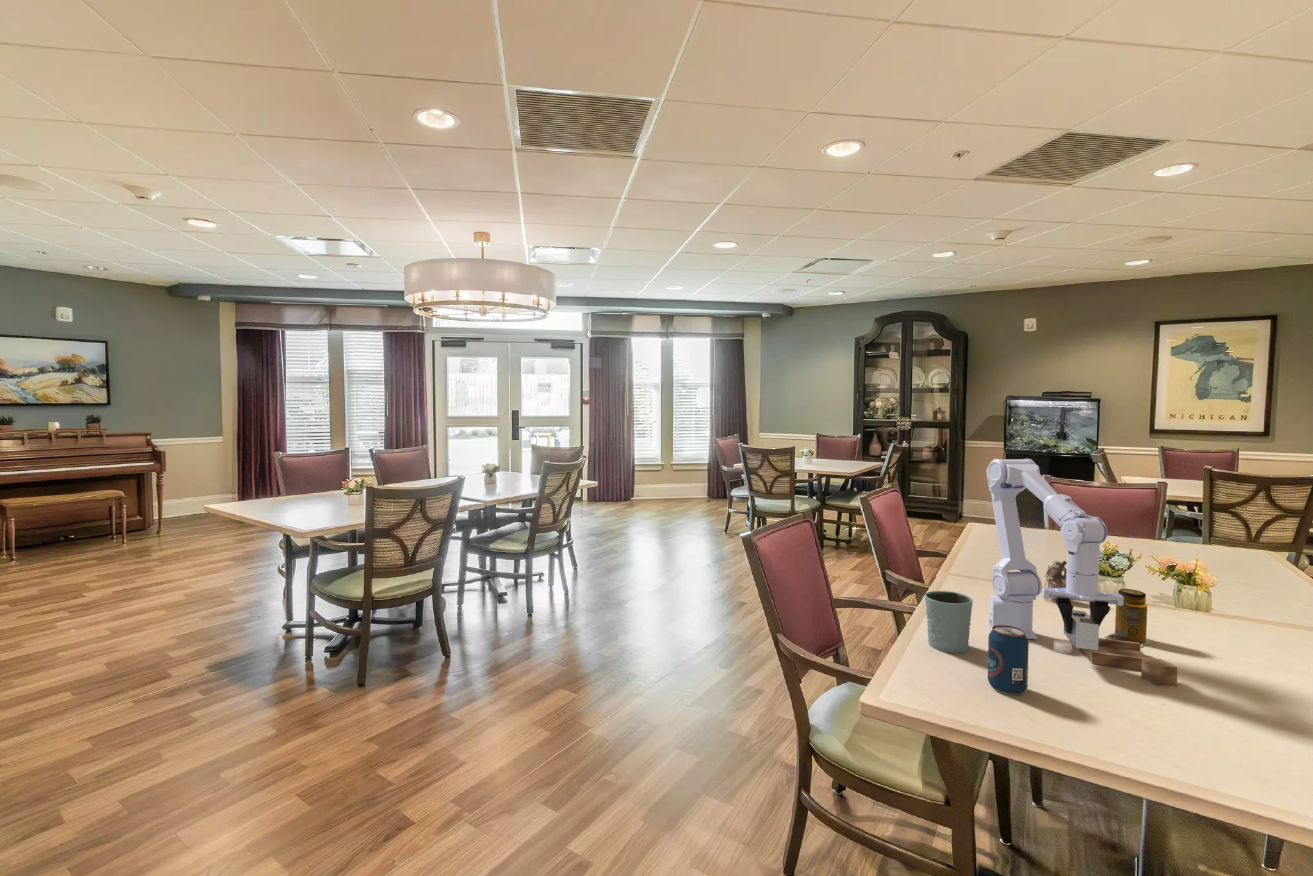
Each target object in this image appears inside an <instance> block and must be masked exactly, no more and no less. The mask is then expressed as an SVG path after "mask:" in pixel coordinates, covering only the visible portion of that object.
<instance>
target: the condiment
mask: <svg viewBox="0 0 1313 876" xmlns="http://www.w3.org/2000/svg"><path fill="white" fill-rule="evenodd" d="M1118 594H1119V595H1121V596H1122V597H1124V598H1123V606H1118V605H1116V604H1115V619H1114V620H1115V621H1114V632H1113V633H1111V634H1108V635H1106V636H1104V637H1103V639H1112V640H1121V641H1130V642H1139V643H1140V648H1142V647H1144V646H1146V645H1148V644H1149V643H1151V642H1153V639H1150V638H1147V627H1148V626H1147V624H1148V622H1147V621H1148V618H1147V617H1148V605H1147V603H1146V601H1147V599H1146V597H1147V595H1146V593H1145V592H1143V591H1141V590H1139V589H1138V590H1136V589H1133V588H1132V589H1131V588H1120V589H1118Z"/></svg>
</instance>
